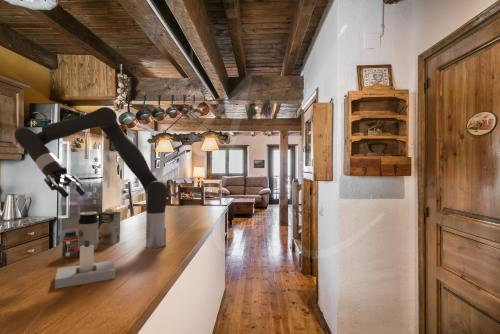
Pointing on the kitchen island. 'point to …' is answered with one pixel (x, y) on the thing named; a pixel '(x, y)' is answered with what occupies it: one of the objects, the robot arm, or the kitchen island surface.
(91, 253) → the plug
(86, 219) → the travel mug
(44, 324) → the kitchen island surface
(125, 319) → the kitchen island surface
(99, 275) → the socket
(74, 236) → the supplement bottle
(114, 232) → the coffee box
